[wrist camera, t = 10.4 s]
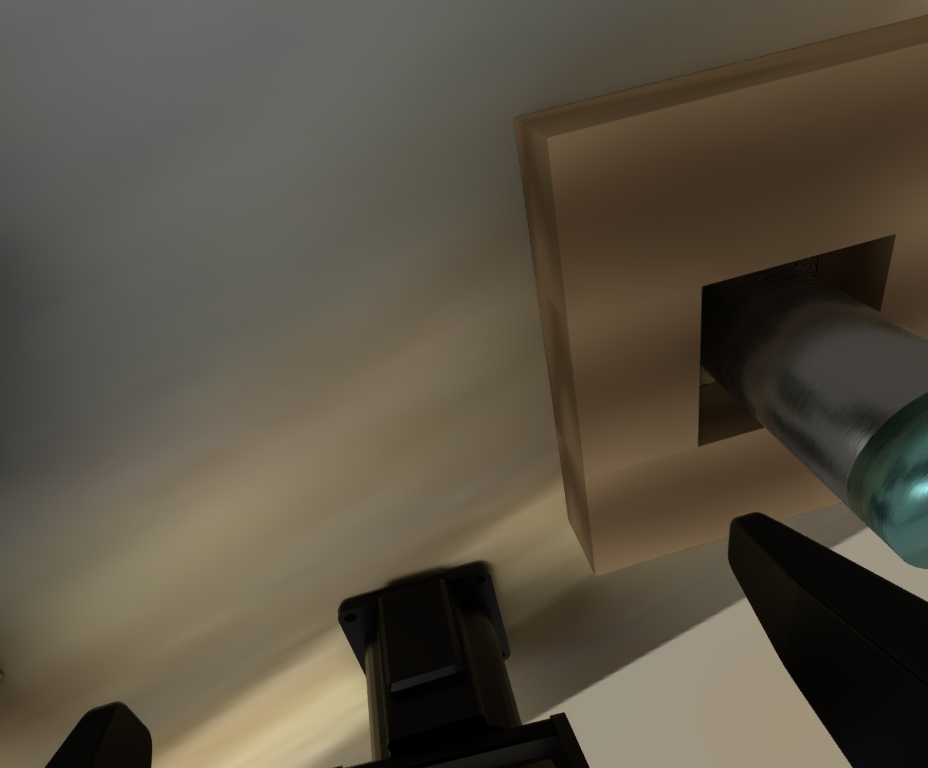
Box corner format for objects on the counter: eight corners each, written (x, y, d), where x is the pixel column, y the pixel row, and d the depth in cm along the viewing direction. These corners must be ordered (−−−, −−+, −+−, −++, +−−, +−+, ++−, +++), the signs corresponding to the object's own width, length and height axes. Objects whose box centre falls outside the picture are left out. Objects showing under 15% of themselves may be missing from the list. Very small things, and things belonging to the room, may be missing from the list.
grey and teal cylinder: (786, 345, 23) (1047, 538, 15) (675, 376, 23) (878, 590, 15) (799, 234, 21) (1119, 389, 12) (675, 267, 21) (918, 448, 12)
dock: (877, 430, 27) (935, 475, 24) (568, 520, 26) (595, 576, 23) (976, 3, 18) (1083, 3, 15) (513, 117, 17) (547, 137, 15)
